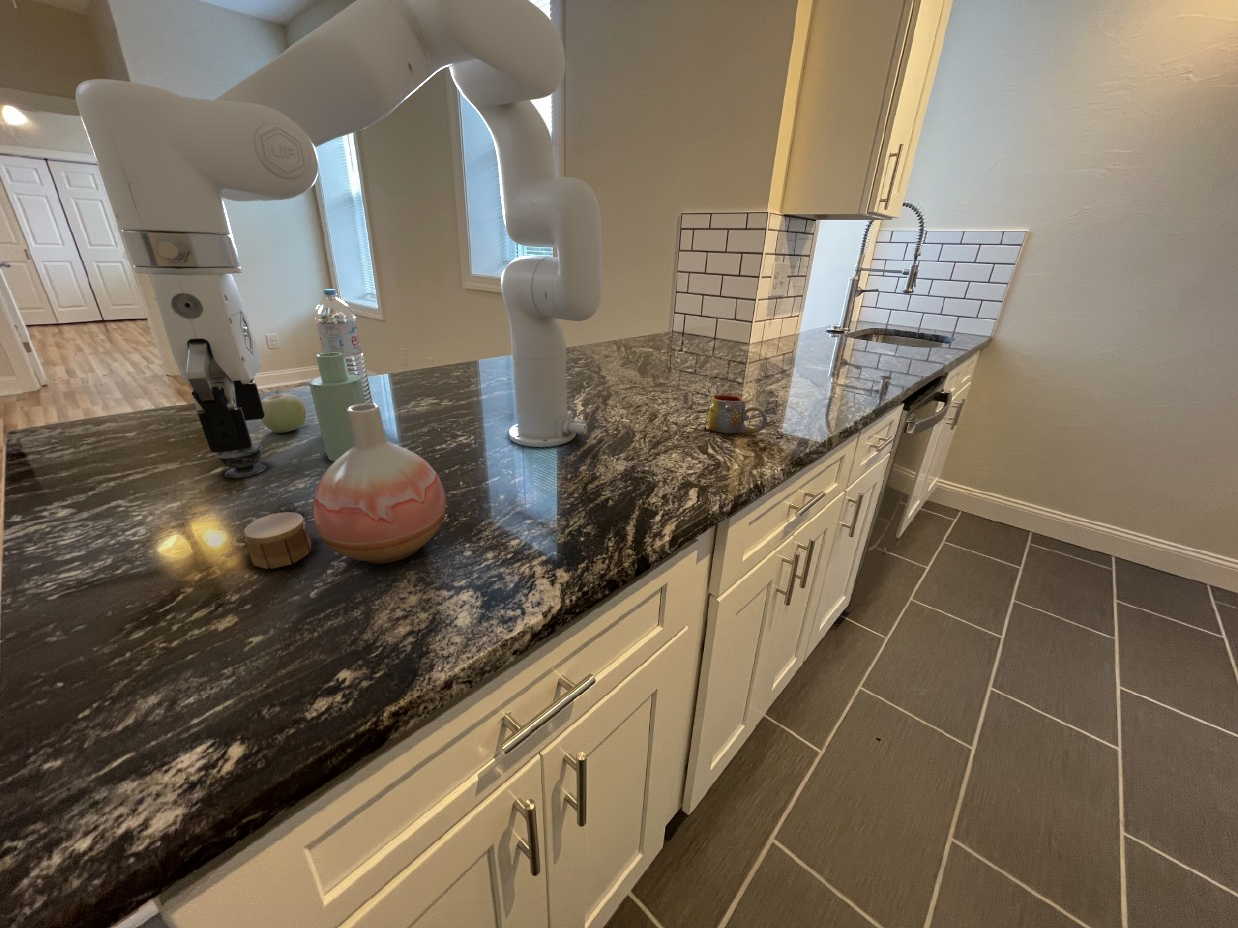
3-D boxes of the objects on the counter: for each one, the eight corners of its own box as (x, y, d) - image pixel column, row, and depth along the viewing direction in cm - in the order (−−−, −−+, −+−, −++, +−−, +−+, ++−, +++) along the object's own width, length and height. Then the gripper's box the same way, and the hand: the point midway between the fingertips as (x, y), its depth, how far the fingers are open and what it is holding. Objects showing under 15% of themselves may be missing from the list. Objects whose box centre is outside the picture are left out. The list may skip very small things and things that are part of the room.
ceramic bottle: (384, 448, 85) (365, 352, 78) (352, 464, 79) (328, 361, 72) (351, 443, 87) (329, 348, 80) (317, 458, 81) (291, 357, 74)
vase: (358, 602, 49) (317, 441, 42) (307, 549, 57) (265, 407, 50) (474, 545, 59) (457, 407, 51) (416, 507, 67) (394, 382, 59)
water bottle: (360, 425, 96) (331, 292, 85) (330, 422, 97) (298, 290, 86) (382, 414, 102) (358, 288, 91) (354, 411, 103) (326, 287, 93)
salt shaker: (277, 466, 78) (255, 394, 73) (240, 481, 72) (214, 405, 67) (250, 461, 79) (227, 390, 74) (213, 475, 74) (185, 400, 69)
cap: (322, 545, 58) (314, 516, 56) (280, 572, 53) (270, 542, 51) (286, 536, 59) (277, 508, 58) (242, 562, 55) (230, 532, 53)
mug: (700, 429, 98) (703, 397, 95) (717, 420, 102) (720, 390, 100) (755, 444, 91) (760, 410, 88) (770, 434, 95) (775, 402, 93)
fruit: (316, 429, 93) (305, 389, 89) (272, 440, 88) (259, 397, 84) (301, 420, 97) (290, 381, 94) (258, 430, 92) (245, 389, 89)
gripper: (218, 259, 38) (274, 457, 45) (251, 254, 52) (290, 406, 59) (89, 257, 35) (171, 471, 42) (161, 252, 49) (213, 414, 56)
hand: (241, 433), depth 50 cm, fingers open, 9 cm apart
